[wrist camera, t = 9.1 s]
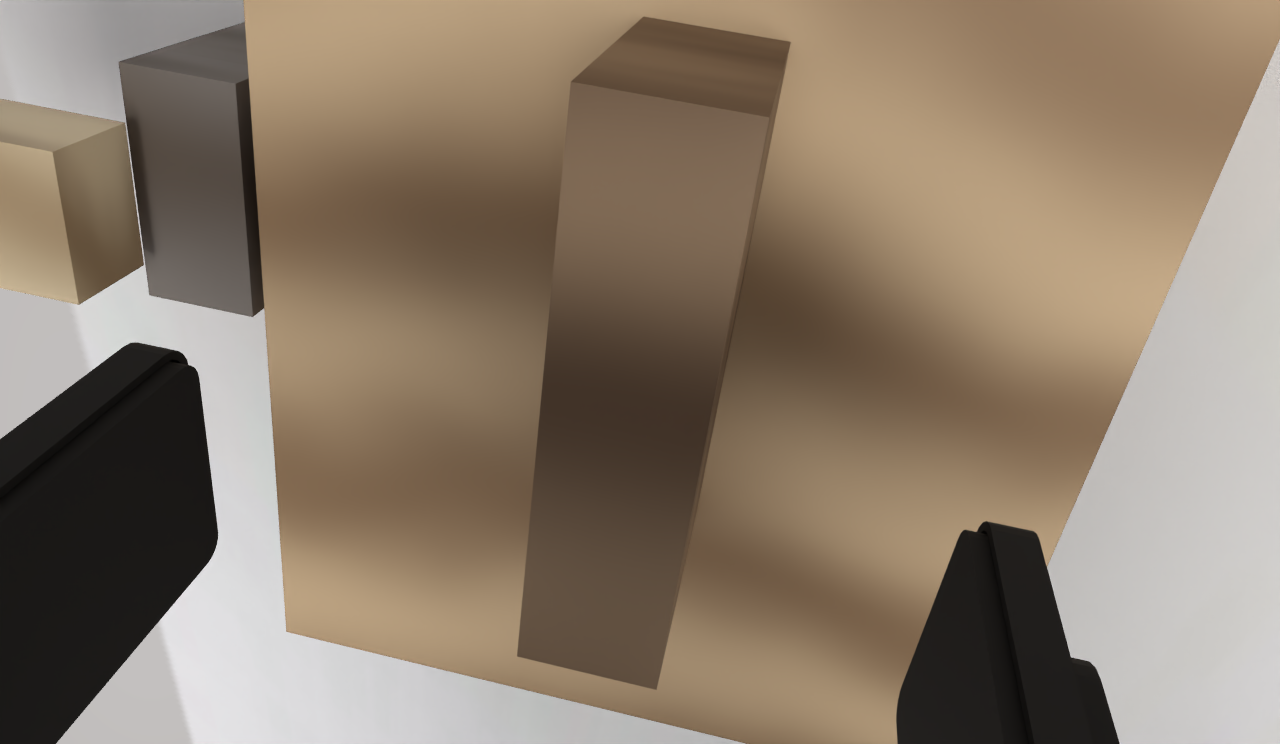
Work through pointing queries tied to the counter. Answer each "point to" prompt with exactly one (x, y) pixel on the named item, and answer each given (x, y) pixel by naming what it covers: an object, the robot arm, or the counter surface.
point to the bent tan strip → (65, 203)
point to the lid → (708, 319)
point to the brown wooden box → (196, 171)
